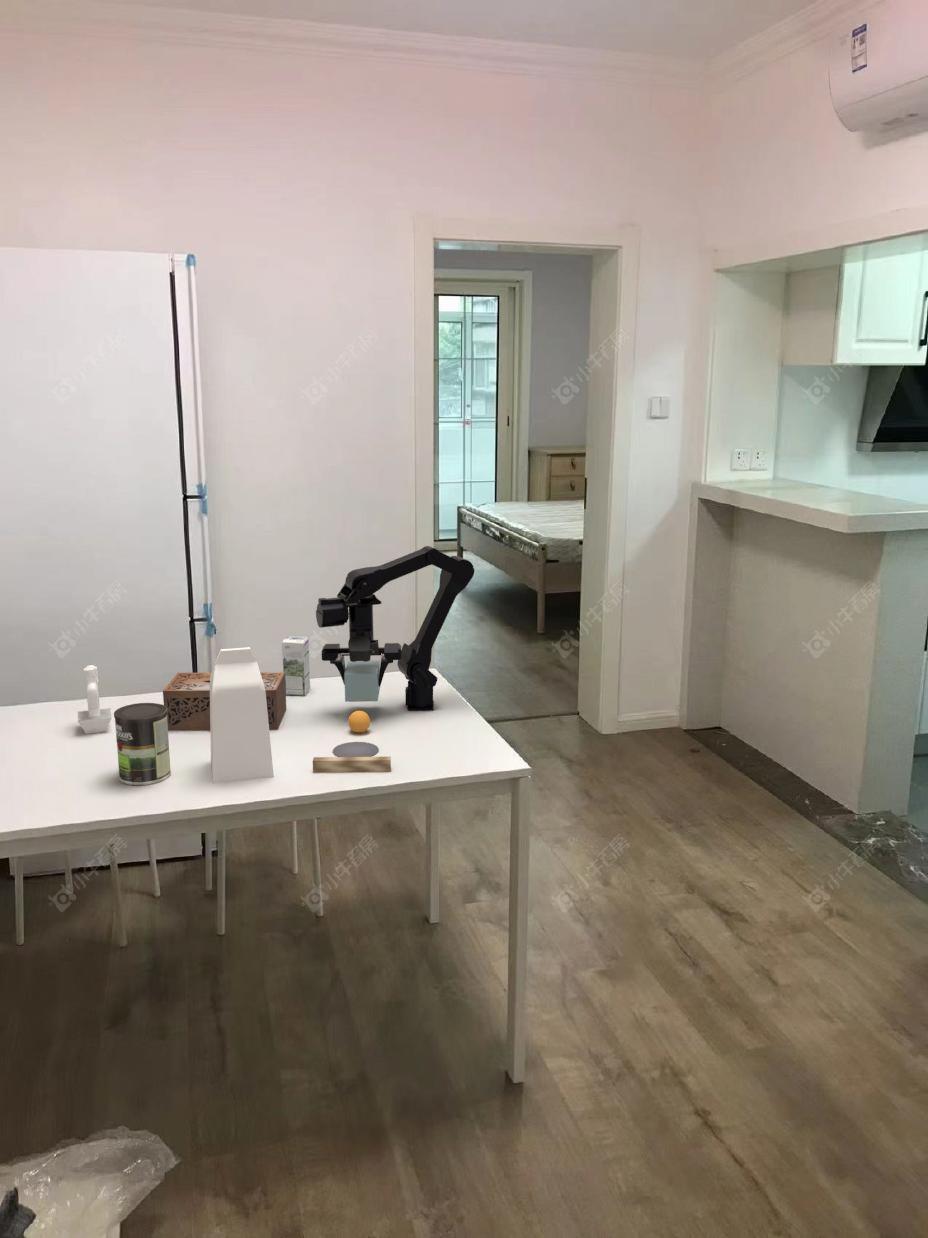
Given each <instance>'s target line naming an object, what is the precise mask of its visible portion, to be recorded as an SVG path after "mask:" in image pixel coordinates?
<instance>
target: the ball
mask: <svg viewBox="0 0 928 1238" xmlns="http://www.w3.org/2000/svg"><path fill="white" fill-rule="evenodd" d="M347 722H348V726H349V729H350V730H352V731H353V732H354V733H358V734H359V733H364V732H365V731H367V730H368V729H369V727H370V724H371V719H370V716H369V714H368V713H367V712H365V711H363V710H356V711H354V712H352V713H351V714H350V715H349V717H348V721H347Z"/></svg>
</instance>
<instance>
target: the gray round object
mask: <svg viewBox="0 0 928 1238" xmlns="http://www.w3.org/2000/svg"><path fill="white" fill-rule="evenodd" d="M379 751H380V749H379V747H378V745H377V744H373V743H370V742H365V741H351V742H344V743H341V744H338V745H336V746H335V747H334V748H333V749H332V753H333V756H334V757H375V755H377V754H379Z"/></svg>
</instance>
